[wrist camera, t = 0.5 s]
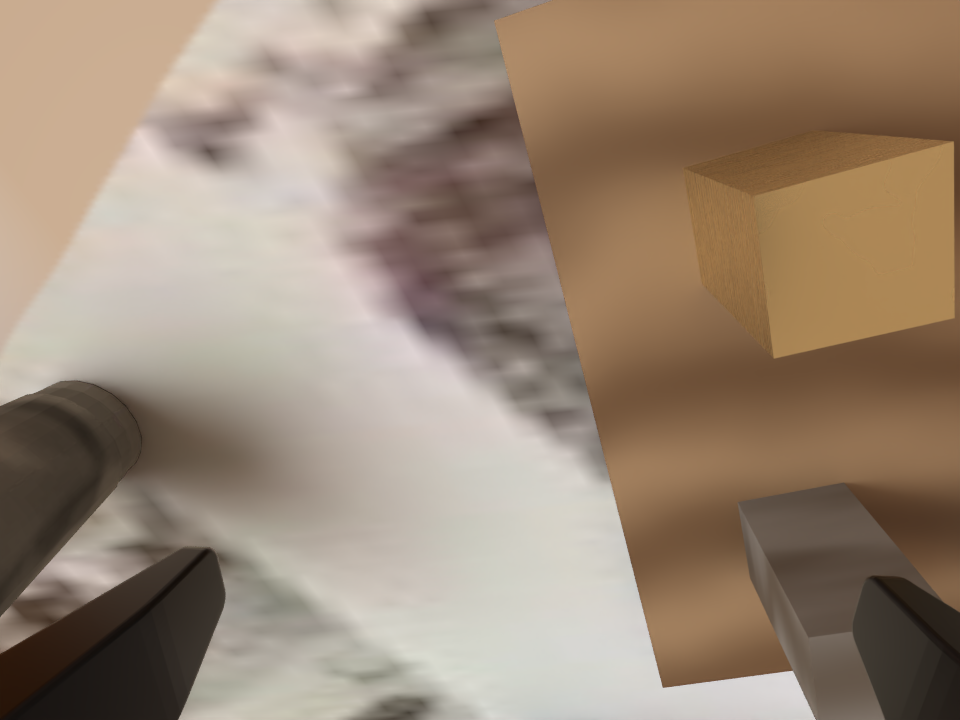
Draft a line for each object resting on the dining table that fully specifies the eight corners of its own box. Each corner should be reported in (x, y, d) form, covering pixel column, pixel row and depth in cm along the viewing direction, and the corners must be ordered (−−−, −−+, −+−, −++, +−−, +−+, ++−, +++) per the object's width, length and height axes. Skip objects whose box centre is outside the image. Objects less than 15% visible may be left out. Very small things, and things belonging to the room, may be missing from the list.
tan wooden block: (824, 253, 18) (954, 318, 12) (702, 284, 19) (773, 358, 13) (814, 130, 17) (953, 141, 11) (682, 167, 17) (753, 196, 12)
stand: (949, 616, 25) (1112, 813, 18) (656, 657, 27) (699, 848, 20) (942, -128, 15) (1274, -318, 9) (496, 27, 18) (474, -25, 11)
